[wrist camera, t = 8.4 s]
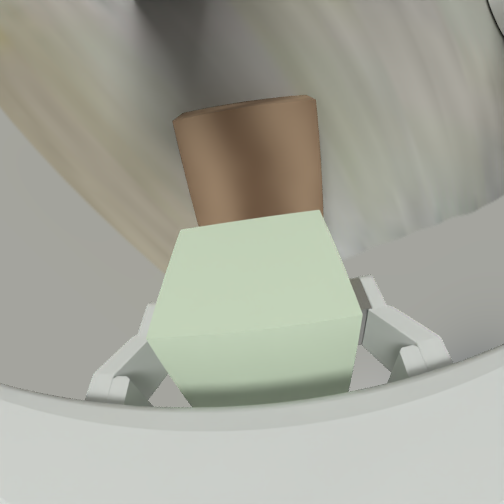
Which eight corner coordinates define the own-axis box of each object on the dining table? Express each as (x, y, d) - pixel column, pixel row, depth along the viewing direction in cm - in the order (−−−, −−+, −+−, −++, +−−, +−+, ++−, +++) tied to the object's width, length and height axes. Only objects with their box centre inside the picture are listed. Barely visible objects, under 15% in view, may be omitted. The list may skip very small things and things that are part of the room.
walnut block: (305, 94, 22) (315, 99, 18) (314, 202, 27) (323, 223, 24) (183, 112, 22) (172, 121, 19) (207, 216, 28) (202, 239, 25)
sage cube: (319, 209, 10) (362, 314, 6) (321, 309, 13) (344, 408, 9) (180, 229, 11) (146, 338, 7) (212, 322, 14) (203, 422, 9)
